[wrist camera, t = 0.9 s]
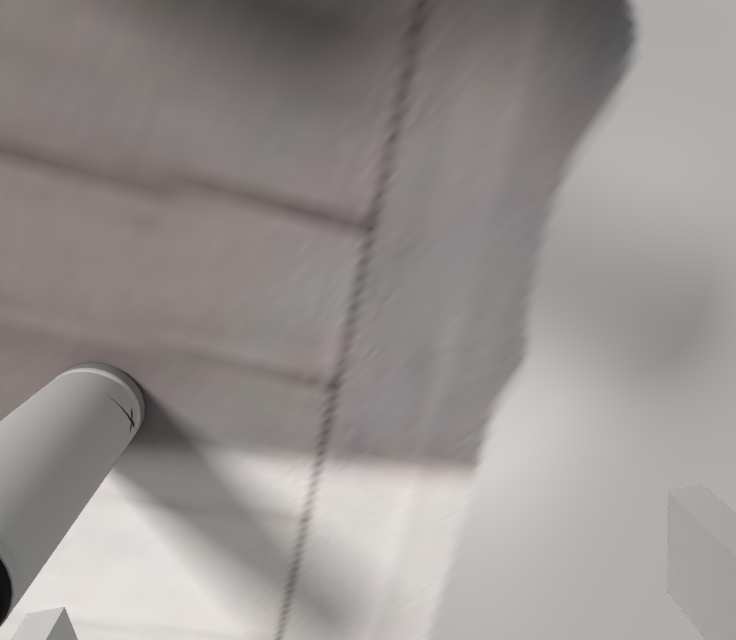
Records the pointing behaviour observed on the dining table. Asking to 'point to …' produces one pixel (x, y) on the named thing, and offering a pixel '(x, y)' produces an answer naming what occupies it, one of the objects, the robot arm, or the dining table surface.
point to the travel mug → (58, 464)
